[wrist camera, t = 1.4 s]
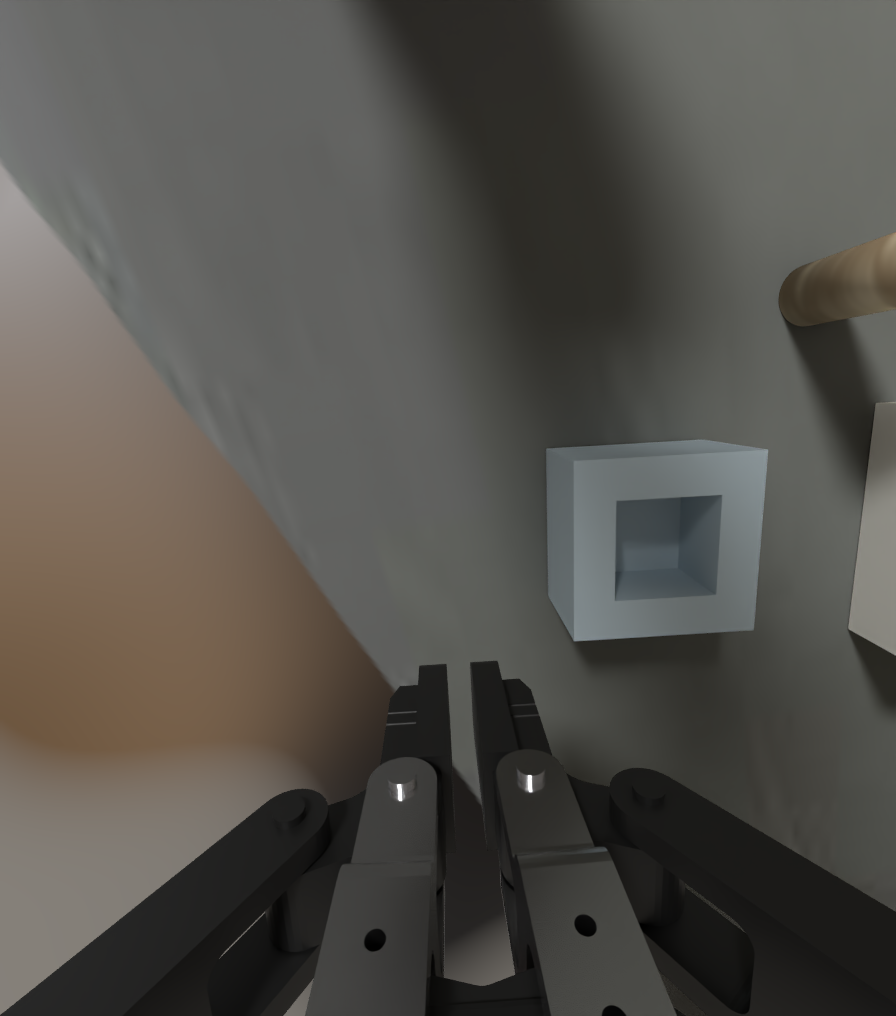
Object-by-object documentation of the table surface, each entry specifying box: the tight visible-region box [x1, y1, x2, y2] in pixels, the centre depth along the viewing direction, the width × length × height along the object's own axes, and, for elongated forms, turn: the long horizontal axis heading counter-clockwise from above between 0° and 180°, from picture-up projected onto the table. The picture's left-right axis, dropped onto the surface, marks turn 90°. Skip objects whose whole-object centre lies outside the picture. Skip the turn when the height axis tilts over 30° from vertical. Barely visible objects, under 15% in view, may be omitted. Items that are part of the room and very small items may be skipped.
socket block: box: [546, 440, 768, 641], centre depth 27 cm, size 9×9×6 cm
